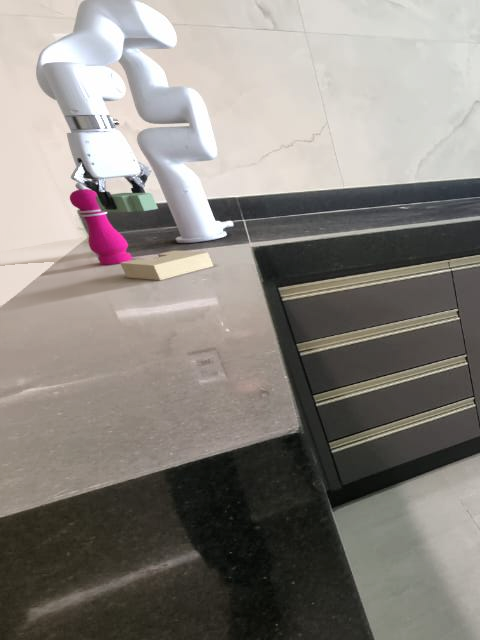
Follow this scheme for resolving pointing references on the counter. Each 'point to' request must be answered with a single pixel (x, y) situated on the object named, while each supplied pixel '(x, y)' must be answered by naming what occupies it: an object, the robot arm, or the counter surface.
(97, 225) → the pepper mill
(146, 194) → the sage pad
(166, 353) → the counter surface
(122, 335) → the counter surface
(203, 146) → the robot arm
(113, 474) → the counter surface
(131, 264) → the sand pad
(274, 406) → the counter surface
